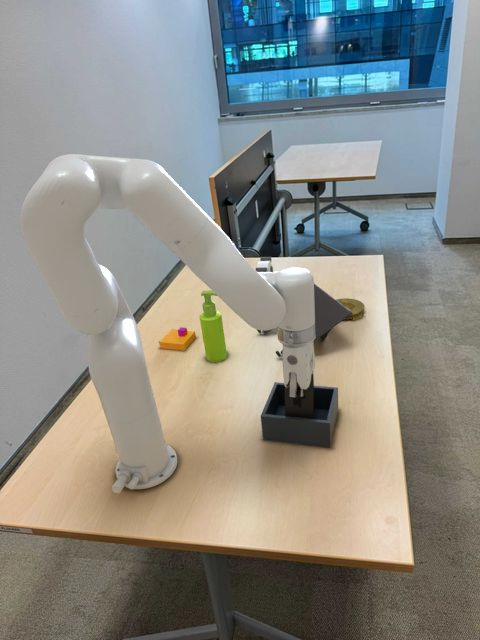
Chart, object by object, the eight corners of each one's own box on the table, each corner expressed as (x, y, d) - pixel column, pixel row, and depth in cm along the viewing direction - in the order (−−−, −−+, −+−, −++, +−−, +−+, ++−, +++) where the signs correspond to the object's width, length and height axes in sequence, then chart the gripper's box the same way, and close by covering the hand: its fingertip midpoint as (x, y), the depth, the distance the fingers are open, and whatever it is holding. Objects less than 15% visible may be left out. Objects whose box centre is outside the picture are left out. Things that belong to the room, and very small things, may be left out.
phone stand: (289, 403, 110) (286, 360, 103) (315, 404, 109) (314, 360, 102) (285, 430, 102) (281, 385, 96) (313, 431, 101) (311, 385, 95)
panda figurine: (281, 311, 156) (277, 268, 149) (247, 311, 158) (242, 269, 151) (285, 296, 166) (282, 255, 159) (253, 296, 168) (249, 256, 161)
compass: (324, 321, 148) (324, 314, 147) (327, 304, 158) (327, 298, 157) (364, 321, 146) (364, 315, 145) (364, 304, 156) (364, 298, 155)
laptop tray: (266, 343, 151) (251, 323, 145) (324, 299, 151) (311, 278, 146) (296, 380, 132) (280, 359, 127) (362, 330, 132) (349, 306, 127)
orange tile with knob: (184, 350, 139) (181, 338, 137) (160, 348, 142) (157, 335, 140) (196, 337, 146) (193, 325, 144) (173, 335, 148) (170, 323, 146)
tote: (330, 447, 99) (330, 423, 96) (263, 440, 103) (260, 416, 100) (338, 410, 110) (338, 387, 106) (276, 404, 114) (274, 382, 110)
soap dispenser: (227, 362, 132) (218, 296, 122) (203, 361, 133) (192, 296, 123) (232, 351, 137) (224, 287, 127) (209, 350, 138) (199, 287, 128)
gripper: (307, 353, 87) (310, 431, 96) (321, 313, 100) (323, 385, 109) (267, 350, 89) (274, 427, 98) (286, 311, 102) (291, 382, 111)
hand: (300, 404), depth 104 cm, fingers closed on phone stand, 2 cm apart
